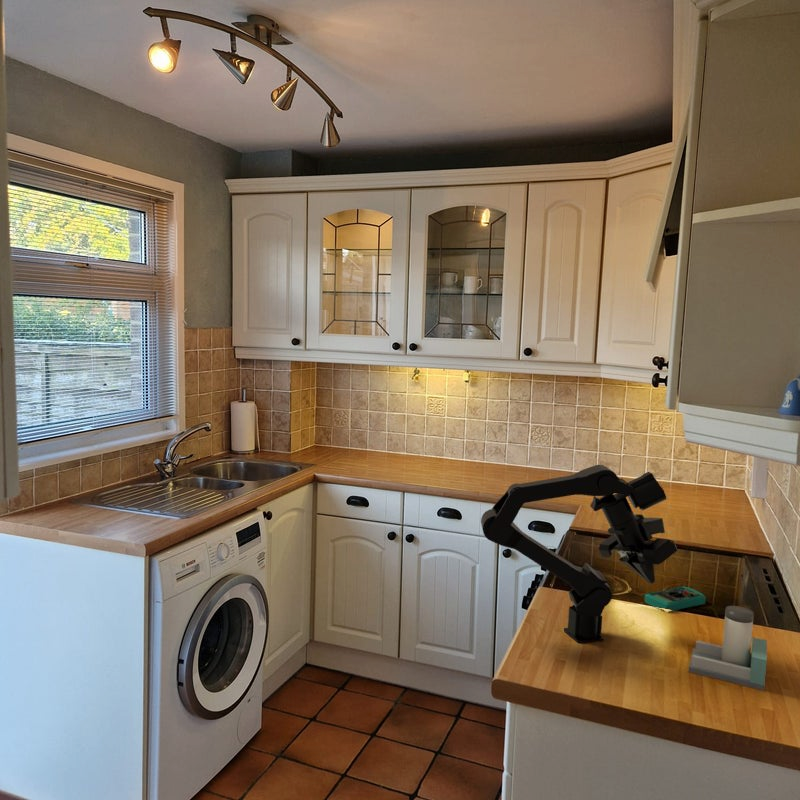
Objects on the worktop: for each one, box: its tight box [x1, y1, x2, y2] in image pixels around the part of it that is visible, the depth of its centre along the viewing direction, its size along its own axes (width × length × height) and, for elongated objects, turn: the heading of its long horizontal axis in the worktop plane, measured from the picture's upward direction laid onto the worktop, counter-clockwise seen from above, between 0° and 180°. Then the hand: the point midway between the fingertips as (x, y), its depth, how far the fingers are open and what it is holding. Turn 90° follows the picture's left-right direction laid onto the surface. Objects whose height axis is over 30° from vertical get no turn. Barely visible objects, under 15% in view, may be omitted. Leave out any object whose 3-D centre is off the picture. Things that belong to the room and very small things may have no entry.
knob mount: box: [688, 636, 768, 691], centre depth 135 cm, size 13×10×6 cm
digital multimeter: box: [643, 585, 707, 611], centre depth 170 cm, size 7×15×3 cm, turn 118°
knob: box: [721, 605, 755, 667], centre depth 134 cm, size 5×5×11 cm
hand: (652, 582), depth 147 cm, fingers closed
